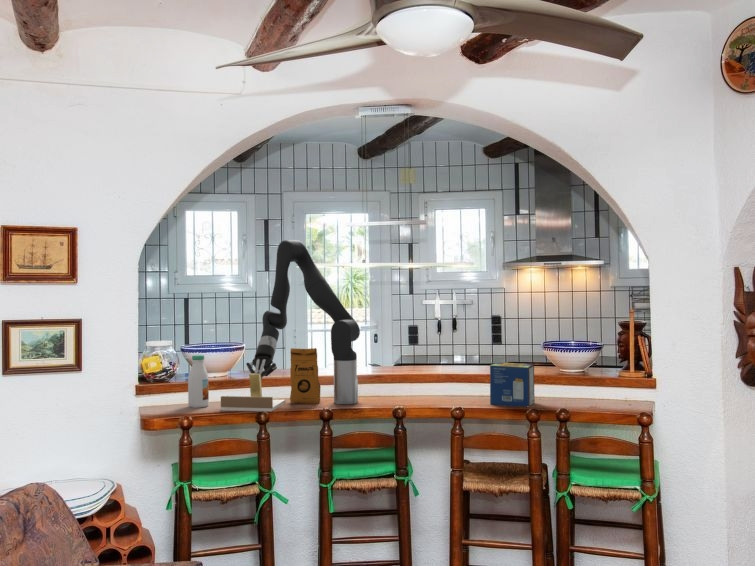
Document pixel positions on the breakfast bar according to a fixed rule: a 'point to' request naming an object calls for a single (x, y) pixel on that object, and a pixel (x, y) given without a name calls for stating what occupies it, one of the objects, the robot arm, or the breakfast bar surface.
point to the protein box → (512, 384)
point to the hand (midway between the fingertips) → (256, 383)
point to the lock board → (249, 403)
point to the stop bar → (255, 385)
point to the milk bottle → (198, 383)
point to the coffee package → (304, 376)
